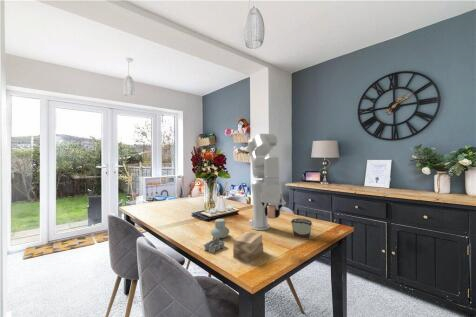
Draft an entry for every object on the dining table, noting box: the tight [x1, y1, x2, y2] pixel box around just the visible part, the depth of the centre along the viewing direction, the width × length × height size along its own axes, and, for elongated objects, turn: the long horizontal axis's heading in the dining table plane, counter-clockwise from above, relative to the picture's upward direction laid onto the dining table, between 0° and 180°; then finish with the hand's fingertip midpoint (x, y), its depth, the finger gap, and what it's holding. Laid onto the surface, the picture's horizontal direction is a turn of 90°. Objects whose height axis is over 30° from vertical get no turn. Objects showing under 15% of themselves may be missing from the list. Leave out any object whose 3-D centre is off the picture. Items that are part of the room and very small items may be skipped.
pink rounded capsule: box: [267, 203, 277, 220], centre depth 114 cm, size 5×5×6 cm
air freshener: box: [210, 218, 230, 239], centre depth 134 cm, size 11×8×10 cm
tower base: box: [232, 242, 264, 263], centre depth 110 cm, size 9×13×4 cm
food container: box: [290, 217, 313, 240], centre depth 132 cm, size 12×6×10 cm, turn 59°
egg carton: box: [203, 237, 226, 253], centre depth 118 cm, size 11×8×4 cm
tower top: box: [232, 231, 263, 253], centre depth 110 cm, size 9×13×4 cm
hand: (272, 215), depth 114 cm, fingers closed on pink rounded capsule, 5 cm apart
